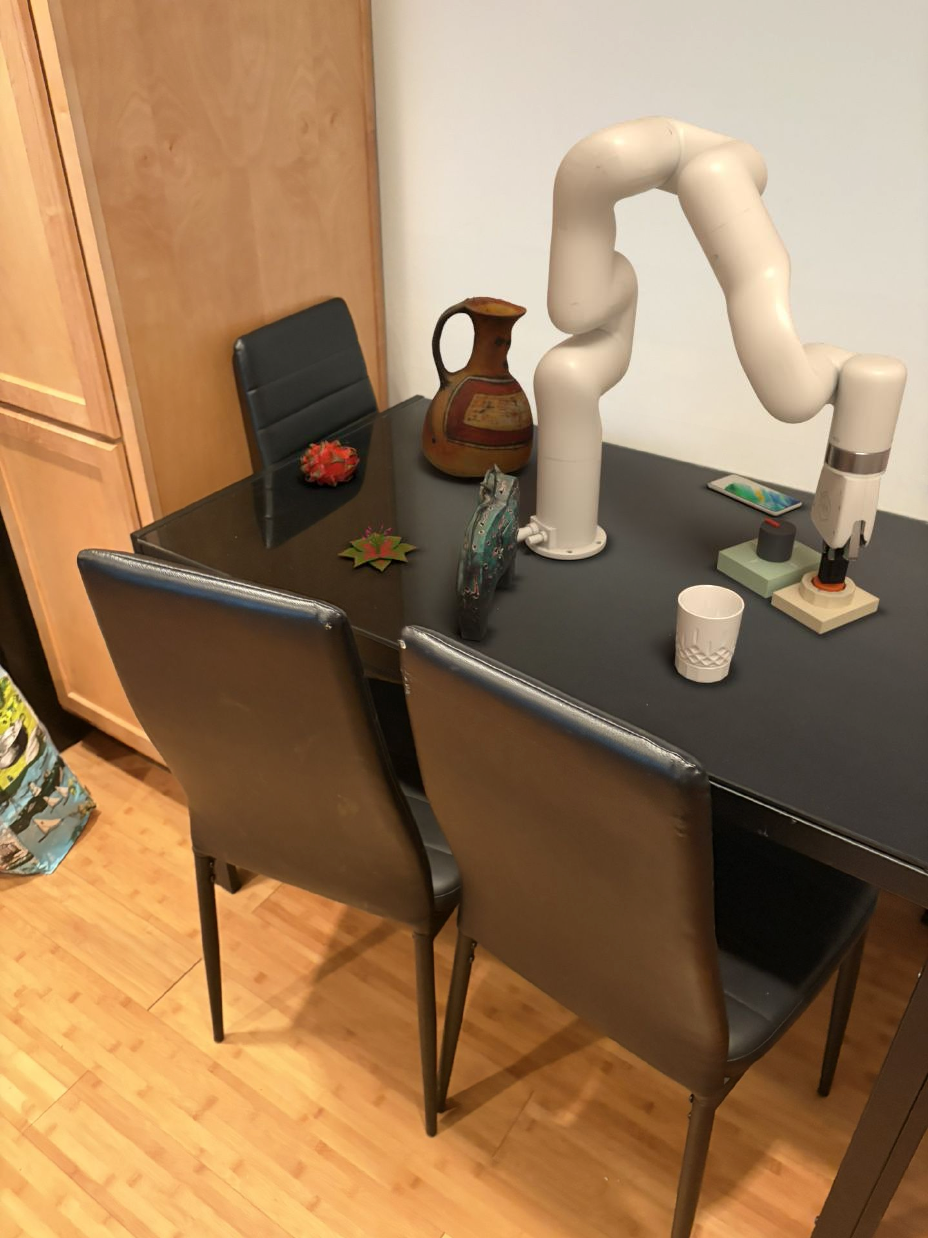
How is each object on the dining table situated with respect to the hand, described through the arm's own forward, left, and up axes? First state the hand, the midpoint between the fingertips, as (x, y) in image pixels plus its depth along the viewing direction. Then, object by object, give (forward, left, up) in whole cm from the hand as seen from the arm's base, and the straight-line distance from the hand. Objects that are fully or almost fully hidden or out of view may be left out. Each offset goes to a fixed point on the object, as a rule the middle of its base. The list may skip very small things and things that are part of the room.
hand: (830, 580), depth 132 cm
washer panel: (+1, +11, -4) cm, 12 cm away
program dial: (+1, +11, -1) cm, 11 cm away
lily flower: (-46, +47, -5) cm, 66 cm away
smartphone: (+17, +31, -5) cm, 36 cm away
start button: (0, 0, -2) cm, 2 cm away
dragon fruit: (-41, +76, -5) cm, 87 cm away
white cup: (-24, -2, -5) cm, 25 cm away
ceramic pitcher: (-16, +67, -5) cm, 69 cm away
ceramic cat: (-39, +25, -5) cm, 47 cm away
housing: (0, 0, -4) cm, 4 cm away
